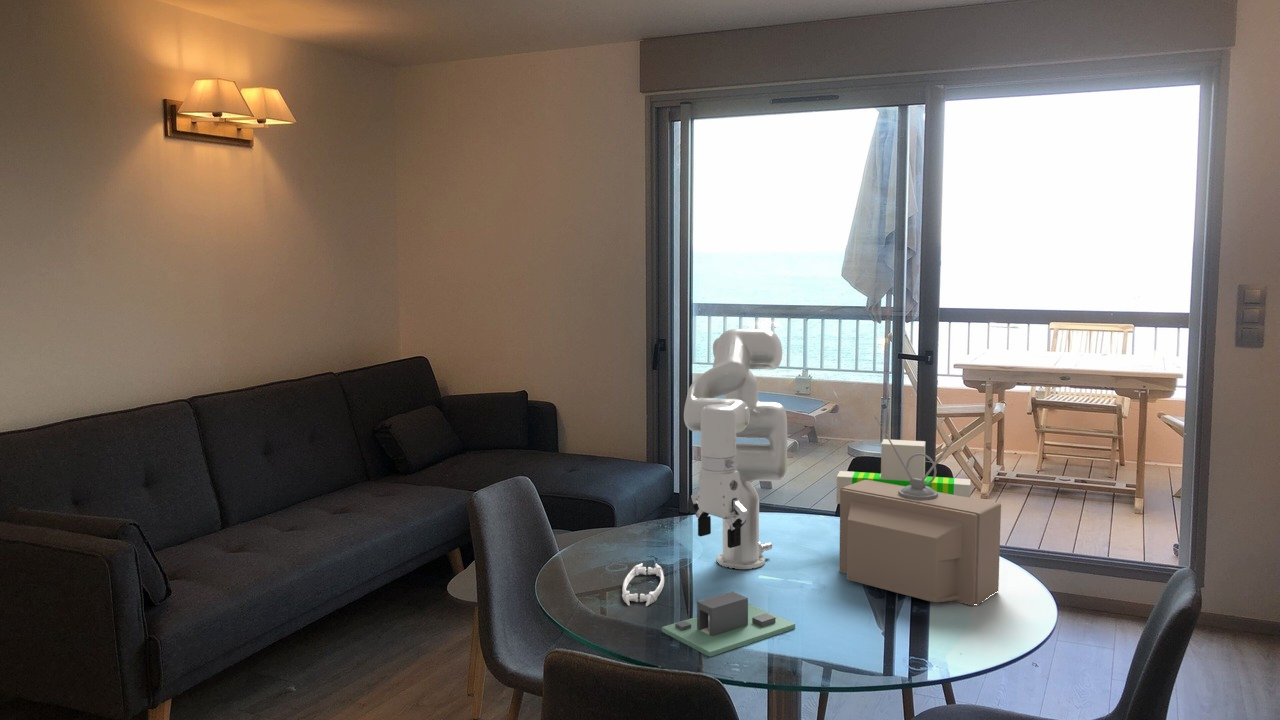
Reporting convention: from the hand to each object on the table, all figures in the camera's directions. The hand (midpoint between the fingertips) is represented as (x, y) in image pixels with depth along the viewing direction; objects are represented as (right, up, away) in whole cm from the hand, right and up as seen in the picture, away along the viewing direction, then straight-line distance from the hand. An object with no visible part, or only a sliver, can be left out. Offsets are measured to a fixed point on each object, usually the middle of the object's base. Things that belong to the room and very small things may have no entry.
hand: (719, 540), depth 201 cm
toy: (+54, -13, +51) cm, 75 cm away
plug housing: (+1, -18, -1) cm, 18 cm away
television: (+49, -16, +26) cm, 58 cm away
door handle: (-16, -17, +27) cm, 36 cm away
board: (+2, -19, 0) cm, 19 cm away
